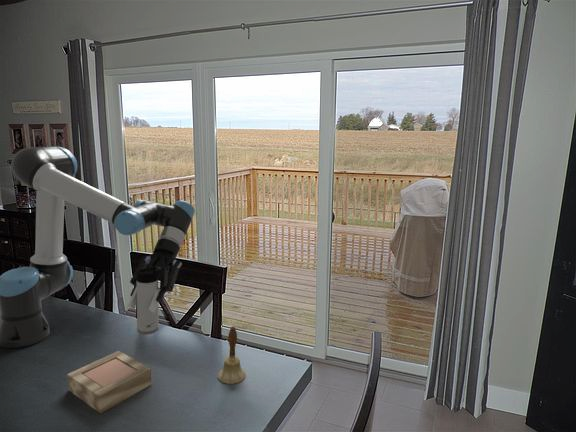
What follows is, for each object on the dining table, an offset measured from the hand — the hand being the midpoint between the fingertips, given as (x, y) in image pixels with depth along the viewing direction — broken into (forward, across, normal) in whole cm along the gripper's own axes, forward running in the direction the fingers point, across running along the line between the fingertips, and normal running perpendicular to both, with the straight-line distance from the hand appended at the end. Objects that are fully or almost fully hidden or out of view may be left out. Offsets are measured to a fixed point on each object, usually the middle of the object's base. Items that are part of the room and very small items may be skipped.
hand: (140, 309), depth 120 cm
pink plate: (+19, +2, -3) cm, 20 cm away
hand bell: (+10, -28, -16) cm, 34 cm away
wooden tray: (+22, +2, -5) cm, 22 cm away
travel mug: (+4, 0, -9) cm, 9 cm away
